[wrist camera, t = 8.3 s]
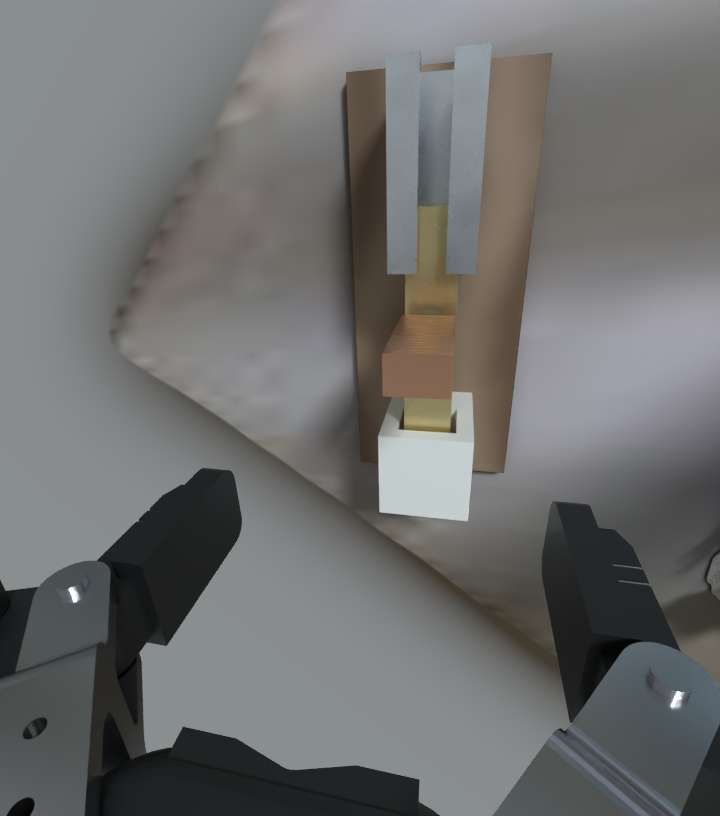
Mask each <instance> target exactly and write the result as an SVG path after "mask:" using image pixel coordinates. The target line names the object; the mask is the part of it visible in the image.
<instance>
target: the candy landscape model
mask: <svg viewBox="0 0 720 816" xmlns="http://www.w3.org/2000/svg"><path fill="white" fill-rule="evenodd" d="M707 582H708V583H710V584H711V586H712V590H711V592H712V594H713V595H715V596H716V597H717V599H718V600H720V553H719V554H717V555H716V556H715V557H714V558H713V560H712V563H711V566H710V569H709V573H708V576H707Z"/></svg>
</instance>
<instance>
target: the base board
mask: <svg viewBox="0 0 720 816" xmlns="http://www.w3.org/2000/svg"><path fill="white" fill-rule="evenodd" d="M551 61H552V53H547V54H536V55H525V56H515V57H504V58H493V59H491V63H490V77H489V91H488V106H487V120H486V134H485V148H484V163H483V177H482V191H481V205H480V220H479V234H478V248H477V262H476V274H459V279H458V298H457V316H456V334H455V352H454V370H453V388H452V392H468V393H472V399H473V425H474V451H473V464H472V470H473V471H486V472H498V473H504V467H505V459H506V450H507V441H508V433H509V424H510V415H511V407H512V398H513V389H514V381H515V372H516V364H517V355H518V346H519V338H520V329H521V320H522V312H523V303H524V294H525V286H526V277H527V268H528V260H529V251H530V242H531V234H532V225H533V217H534V208H535V199H536V191H537V182H538V173H539V165H540V156H541V147H542V139H543V130H544V121H545V113H546V104H547V95H548V87H549V78H550V69H551ZM454 66H455V62H451V63H440V64H429V65H421V72H432V71H443V70H454ZM346 84H347V110H348V136H349V162H350V188H351V214H352V241H353V267H354V293H355V319H356V345H357V371H358V397H359V423H360V449H361V462H373V463H379V459H378V435H379V432H380V429H381V427H382V424H383V421H384V418H385V415H386V413H387V410H388V407H389V404H390V401H391V399H392V397H387V396H383V391H382V352H383V350H384V348H385V346H386V344H387V343H388V341H389V339H390V337H391V335H392V333H393V331H394V329H395V327H396V325H397V323H398V321H399V319H400V317H401V316H402V315H405V274H387V174H386V69H376V70H365V71H355V72H346Z"/></svg>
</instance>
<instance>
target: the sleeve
mask: <svg viewBox="0 0 720 816" xmlns="http://www.w3.org/2000/svg"><path fill="white" fill-rule="evenodd" d="M491 48H492V43H489V44H479V45H469V46H459V47H455V66H454V70H443V71H432V72H421V52H420V50H419V51H409V52H399V53H389V54H385V56H386V174H387V274H416V273H417V248H418V206H430V205H448V228H447V251H446V274H476V262H477V248H478V234H479V220H480V205H481V191H482V177H483V163H484V148H485V134H486V120H487V106H488V91H489V77H490V63H491Z"/></svg>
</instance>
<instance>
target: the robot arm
mask: <svg viewBox="0 0 720 816" xmlns="http://www.w3.org/2000/svg"><path fill="white" fill-rule="evenodd" d="M241 525H242V517H241V512H240V505H239V500H238V495H237V489H236V483H235V478H234V475H233V473H232V472H231V471H229V470H219V469H208V468H202V469H200V470H199V471H198V472H197V473H196V474H195V475H194V476H193V477H192V478H191V479H190V480H189V481H188V482H187V483H186V484H185V485H180V486H178V487H177V488H175V489H173V490H172V491H170V492H168V493H166V494H165V495H163V496H162V497H161V498H160V499H159V500H158V501H157V502H156V503H155V504H154V505H153V506H152V507H151V508H150V511H147V512H146V513H145V514H144V515H143V516H142V517H141V518H140V519H139V522H136V523H135V524H133V526H131V527H130V528H129V529H128V530H127V532H125V533H124V534H123V535H122V536H121V537H120V538H119V539H118V540H117V541H116V543H114V544H113V545H112V546H111V547H110V548H109V549H108V550H107V551H106V552H105V553H104V554H103V555H102V556H101V557H100V558H99V559H98V560H97V561H83V562H79V563H75V564H72V565H69V566H67V567H65V568H63V569H61V570H59V571H57V572H56V573H54V574H53V575H51V576H50V577H48V578H47V579H46V580H45V581H44V582H43V583H42V584H41V585H40V586H39V587H35V588H26V589H18V590H10V591H5V589H4V587H3V585H2V583H1V581H0V816H439V815H438V814H436V812H434V811H433V810H431V809H430V808H428V807H426V806H425V805H423V804H421V803H420V802H419V780H418V779H414V778H409V777H405V776H401V775H396V774H391V773H387V772H383V771H378V770H373V769H369V768H365V767H360V766H344V767H332V768H318V769H306V770H289V769H286V768H284V767H282V766H280V765H279V764H277V763H275V762H274V761H272V760H270V759H269V758H267V757H265V756H264V755H262V754H261V753H259V752H257V751H255V750H254V749H252V748H251V747H249V746H247V745H246V744H244V743H243V742H241V741H239V740H238V739H235V738H231V737H226V736H222V735H217V734H213V733H208V732H204V731H200V730H195V729H191V728H186V727H183V728H182V730H181V732H180V734H179V736H178V737H177V739H176V741H175V743H174V745H173V747H172V748H166V749H161V750H156V751H152V752H149V753H146V748H145V741H144V725H143V724H144V722H143V691H142V662H141V657H140V654H139V652H140V651H141V649H142V648H143V647H144V645H145V644H146V642H148V643H154V644H159V645H164V646H167V645H168V643H169V641H170V640H171V639H172V637H173V635H174V634H175V632H176V631H177V629H178V628H179V627H180V625H181V624H182V622H183V620H184V619H185V617H186V616H187V615H188V613H189V612H190V610H191V609H192V607H193V606H194V604H195V603H196V601H197V600H198V598H199V596H200V595H201V593H202V592H203V591H204V589H205V588H206V586H207V585H208V583H209V582H210V580H211V579H212V577H213V576H214V574H215V573H216V571H217V570H218V568H219V567H220V565H221V564H222V562H223V561H224V559H225V558H226V556H227V555H228V553H229V552H230V550H231V549H232V547H233V546H234V544H235V543H236V541H237V539H238V537H239V534H240V531H241ZM542 577H543V584H544V589H545V594H546V600H547V605H548V610H549V615H550V621H551V626H552V631H553V636H554V641H555V647H556V652H557V657H558V662H559V668H560V672H561V678H562V683H563V688H564V694H565V699H566V704H567V709H568V714H569V720H570V723H572V724H571V725H570V726H569V727H568V729H567V730H565V731H563V730H562V729H558V730H556V731H555V732H554V733H553V734H552V735H551V736H550V738H549V739H548V740H547V741H546V743H545V744H544V746H543V747H542V748H541V750H540V751H539V752H538V754H537V755H536V757H535V758H534V759H533V761H532V762H531V763H530V765H529V766H528V767H527V769H526V770H525V772H524V773H523V774H522V776H521V777H520V779H519V780H518V781H517V783H516V784H515V785H514V787H513V788H512V790H511V791H510V792H509V794H508V795H507V796H506V798H505V799H504V801H503V802H502V803H501V805H500V806H499V808H498V809H497V810H496V812H495V813H494V815H493V816H720V688H719V686H718V685H717V683H716V682H715V680H714V679H713V678H712V677H711V675H710V674H709V673H708V672H707V671H706V670H705V669H704V668H703V667H702V666H701V665H699V664H698V663H697V662H696V661H694V660H693V659H692V658H690V657H689V656H687V655H685V654H684V653H682V652H681V651H680V649H679V647H678V644H677V642H676V640H675V638H674V636H673V634H672V631H671V629H670V627H669V625H668V623H667V621H666V619H665V616H664V614H663V612H662V610H661V608H660V606H659V603H658V601H657V599H656V597H655V595H654V593H653V590H652V588H651V587H649V582H648V580H647V577H646V575H645V573H644V571H643V570H641V565H640V562H639V560H638V558H637V556H636V554H635V552H634V549H633V547H632V546H631V545H630V544H629V543H628V542H627V541H626V540H625V539H623V538H622V537H621V536H620V535H619V534H618V533H617V532H616V531H615V530H612V529H602V528H598V526H597V523H596V520H595V518H594V515H593V513H592V510H591V508H590V506H589V505H588V504H577V503H567V502H556V501H553V502H552V504H551V507H550V513H549V519H548V524H547V530H546V536H545V542H544V548H543V555H542Z"/></svg>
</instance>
